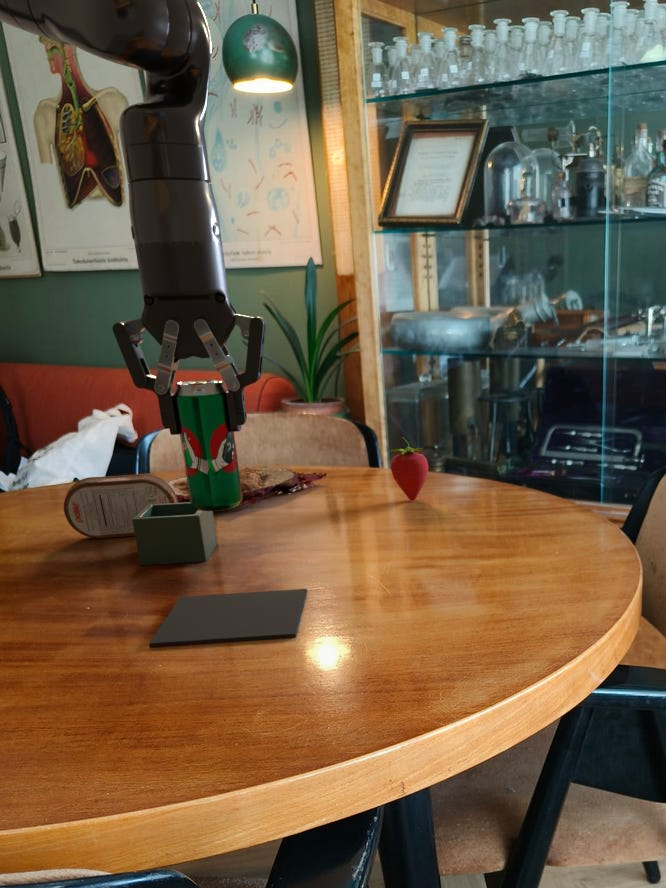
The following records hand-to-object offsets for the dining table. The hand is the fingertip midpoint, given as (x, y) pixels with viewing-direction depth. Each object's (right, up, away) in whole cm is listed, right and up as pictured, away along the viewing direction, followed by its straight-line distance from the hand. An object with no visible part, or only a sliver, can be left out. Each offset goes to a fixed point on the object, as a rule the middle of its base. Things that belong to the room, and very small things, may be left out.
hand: (206, 431), depth 85 cm
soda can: (0, -7, +3) cm, 8 cm away
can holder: (-13, -9, +30) cm, 34 cm away
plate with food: (-16, +4, +64) cm, 67 cm away
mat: (+1, -18, +7) cm, 19 cm away
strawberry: (+16, +2, +55) cm, 57 cm away
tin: (-24, -5, +40) cm, 47 cm away
